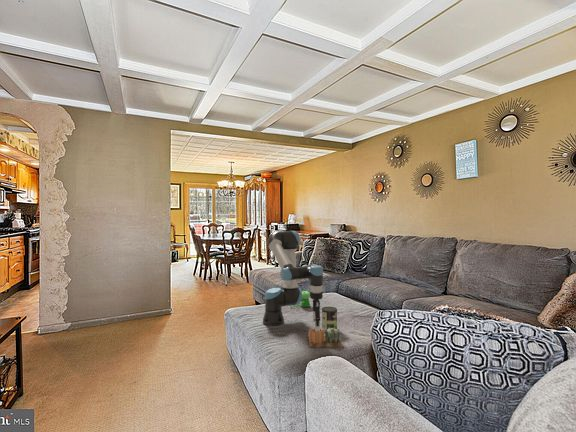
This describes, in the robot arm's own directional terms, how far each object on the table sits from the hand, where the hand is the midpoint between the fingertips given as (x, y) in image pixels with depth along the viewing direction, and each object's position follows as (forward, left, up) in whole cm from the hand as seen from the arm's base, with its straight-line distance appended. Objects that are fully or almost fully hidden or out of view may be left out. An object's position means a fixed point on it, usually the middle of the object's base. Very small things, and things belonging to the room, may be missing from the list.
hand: (316, 326), depth 183 cm
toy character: (-7, +68, -10) cm, 69 cm away
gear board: (+5, 0, -10) cm, 11 cm away
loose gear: (0, 0, -8) cm, 8 cm away
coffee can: (+11, +19, -10) cm, 24 cm away
